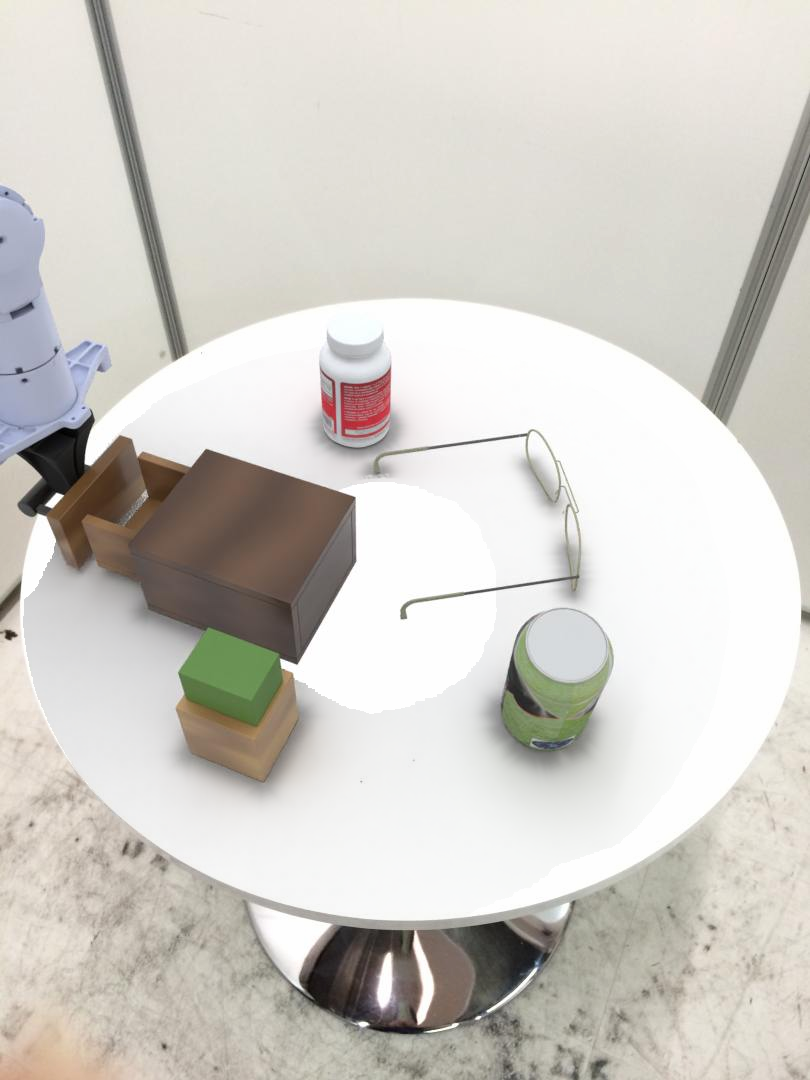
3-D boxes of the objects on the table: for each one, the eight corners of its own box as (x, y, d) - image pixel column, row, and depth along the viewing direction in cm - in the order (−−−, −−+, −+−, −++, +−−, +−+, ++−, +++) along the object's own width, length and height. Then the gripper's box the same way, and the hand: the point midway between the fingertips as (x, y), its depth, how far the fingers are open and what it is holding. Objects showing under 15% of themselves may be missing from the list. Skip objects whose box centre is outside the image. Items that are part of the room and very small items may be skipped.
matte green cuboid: (185, 699, 54) (177, 672, 52) (214, 654, 56) (207, 626, 54) (256, 727, 53) (251, 701, 51) (283, 680, 55) (279, 653, 53)
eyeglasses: (588, 600, 68) (602, 560, 64) (400, 620, 66) (402, 580, 62) (537, 458, 78) (546, 415, 74) (372, 472, 76) (373, 429, 72)
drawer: (14, 546, 68) (-10, 495, 64) (86, 468, 74) (68, 417, 70) (195, 613, 65) (183, 565, 60) (256, 526, 70) (248, 476, 66)
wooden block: (189, 752, 58) (174, 708, 54) (227, 690, 62) (216, 643, 57) (263, 783, 57) (254, 740, 53) (298, 718, 60) (293, 672, 56)
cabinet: (148, 609, 66) (127, 545, 60) (218, 514, 72) (205, 448, 67) (297, 665, 63) (290, 603, 57) (356, 561, 70) (356, 496, 64)
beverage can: (583, 684, 63) (619, 583, 54) (586, 778, 58) (627, 686, 49) (496, 675, 63) (518, 573, 54) (493, 768, 58) (517, 675, 49)
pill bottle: (402, 420, 81) (406, 320, 72) (367, 459, 77) (367, 359, 69) (345, 396, 83) (343, 296, 74) (309, 434, 79) (302, 333, 71)
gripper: (-7, 432, 52) (54, 571, 63) (129, 305, 61) (163, 445, 72) (-100, 401, 54) (-26, 541, 64) (45, 281, 63) (90, 421, 73)
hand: (68, 489), depth 68 cm, fingers closed
